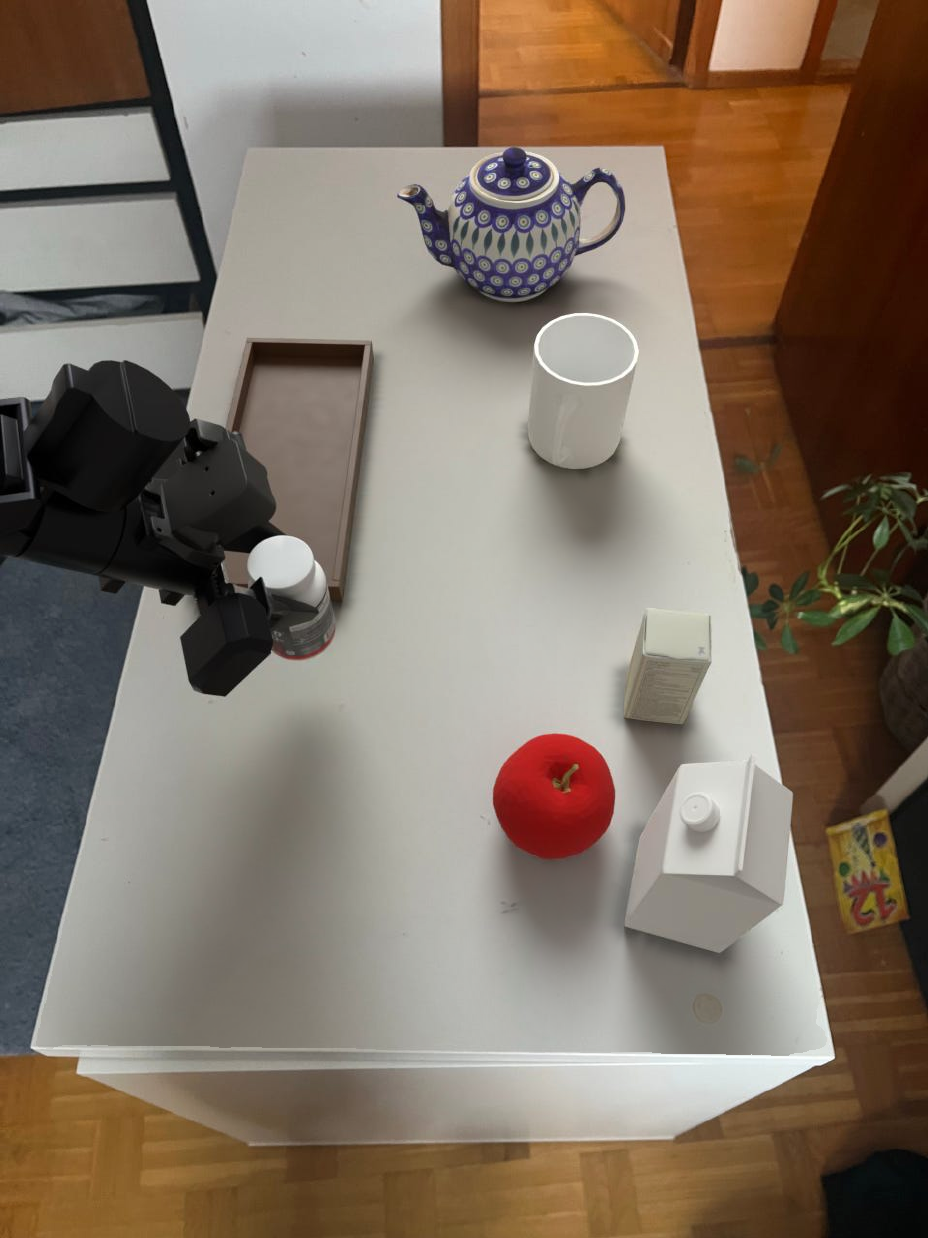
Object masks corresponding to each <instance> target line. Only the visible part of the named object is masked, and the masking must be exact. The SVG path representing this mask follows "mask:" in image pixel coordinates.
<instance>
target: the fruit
mask: <svg viewBox="0 0 928 1238" xmlns="http://www.w3.org/2000/svg"><path fill="white" fill-rule="evenodd" d="M609 767H610V766H609V765H608V762H607V760H606V759H605V758H604V756H603V755H602V754H601V752H599V750H598V749H596V747H595V746H593V745H591V744H590V743H588V742H587V741H585V740H583V739H581V738H579V737H577V736H575V735H571V734H566V733H555V732H554V733H546V734H541V735H537V736H535V737H532V738H531V739H529V740H528V741H527V742H525V743H524V744H522V745H521V746H520V747H518V748H517V749H516V750H515V751H514V752H513V753H512V754H511V755H510V756H509V757H508V758H507V759H506V760H505V762H504V763H503V764H502V766H501V767H500V769H499V772H498V774H497V776H496V778H495V781H494V786H493V789H492V806H493V809H494V813H495V816H496V818H497V821H498V824H499V825H500V828H501V829H502V831H503V832H504V834H505V835H506V837H507V838H508V840H509V841H510V842H511V843H512V844H513V845H514V846H515V847H516V848H518V849H519V850H522V851H523V852H524V853H527V854H528V855H531V856H535V857H537V858H541V859H543V860H544V859H545V860H560V859H566V858H570V857H573V856H577V855H581V854H582V853H584V852H586V851H587V850H589V849H590V848H592V847H593V845H595V844H596V843H597V842H598V841H600V839H601V838H602V837H603V836H604V835H605V833H606V832H607V831H608V829H609V827H610V825H611V823H612V819H613V816H614V813H615V812H614V810H615V803H616V788H615V783H614V779H613V776H612V773H611V770H610V768H609Z"/></svg>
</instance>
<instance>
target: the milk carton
mask: <svg viewBox="0 0 928 1238" xmlns="http://www.w3.org/2000/svg"><path fill="white" fill-rule="evenodd" d="M756 756H757V754H755V753H752V754H751V755H750V756H749V758H748V759H745V760H744V759H743V760H727V761H713V762H712V761H711V762H693V763H681V764H680V765H679V767H678V768H677V769H676V771H675V773H674V775H673V777H672V778H671V780H670V781H669V784H668V786H667V787H666V789H665V791H664V793H663V794H662V796H661V798H660V800H659V802H658V804H657V806H656V807H655V809H654V811H653V813H652V815H651V816H650V818H649V820H648V821H647V824H646V825H645V827H644V828H643V831H641V832H642V833H641V834H640V836H639V840H638V845H637V849H636V856H635V861H634V867H633V872H632V878H631V884H630V890H629V895H628V900H627V905H626V906H627V907H626V912H625V918H624V927H626V928H629V929H632V930H636V931H639V932H643V933H645V934H646V933H647V934H650V935H653V936H657V937H661V938H664V939H668V940H670V941H671V940H672V941H674V942H679V943H681V944H685V945H689V946H693V947H696V948H700V949H704V950H707V951H711V952H714V953H718V954H720V953H722V952H723V951H725V950H727V948H729V947H730V946H731V945H732V944H734V943H735V942H737V940H739V939H740V938H742V937H743V936H744V935H745V934H747V933H748V932H750V931H751V930H752V929H753V928H755V927H756V926H757V925H758V924H760V923H761V922H762V921H764V920H765V919H766V918H768V917H769V916H770V915H771V914H773V913H774V912H776V911H777V910H778V909H779V908H781V907H782V906H784V901H785V889H786V878H787V867H788V859H789V858H788V856H789V847H790V844H789V843H790V834H791V823H792V812H793V801H794V794H793V792H792V790H790V789H789V788H788V787H786V786H785V785H783V784H782V783H781V782H780V781H778V780H777V779H776V778H774V777H773V776H771V775H770V774H769V773H767V772H766V771H765V770H764V769H762V768H761V767H759V766H758V765H757V764H756Z"/></svg>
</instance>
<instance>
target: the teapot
mask: <svg viewBox="0 0 928 1238" xmlns="http://www.w3.org/2000/svg"><path fill="white" fill-rule="evenodd" d="M598 183H605V184H607V186H608V187H610V189H611V190H612V192H613V194H614V196H615V198H616V206H615V212H614V214H613V218H612V220H611V221H610V222H609V223H608V225H607V226H605V227H604V228H603V229H601V231H599V232H597V233H596V234H595V235H592V236H589V237H587V238H581V236H580V235H581V220H582V219H581V207H582V205H583V203H584V201H585V198H586V196H587V195H588V192H589V190H590V189H591V188H592V187H593V186H594V185H595V184H598ZM623 189H624V188H623V187H622V185H621V183H620V182H619V179H618V178H617V177H616V176H615V175H614V174H613V173H612V172H611V171H610V170H608V169H607V168H605V167H601V166H600V167H596V168H594V169H592V170H590V171H589V172H587V173H586V174H584V175H583V176H582V177H581V178H579V180H577V181H576V182H574V183H570V182H569V181H568V180H567V178H566V177H565V176H564V175H562V173H561V172H559V170H558V169H557V166H556V165H555V164H554V163H553V162H552V161H551V160H549V159H548V158H547V157H545V156H543V155H540V154H538V153H534V152H531V151H526V150H524V149H523V148H520V147H518V146H512V147H511V146H510V147H508V148H506V149H505V150H504V151H498V152H494V153H492V154H489V155H486V156H485V157H482V158H481V159H480V160H479V161H477V162H476V163H475V164H474V166H473V167H472V168H471V170H470V172H469V173H468V174H467V175H466V176H465V177H464V178H463V179H462V180H461V181H460V182H459V183H458V185H457V186H456V188H455V190H454V191H453V193H452V195H451V198H450V201H449V203H448V207H447V208H446V209H444V210H443V211H441V210H439V209H437V208H436V206H435V203H434V200H433V198H432V197H431V196H430V195H429V193H428V192H427V190H426V189H425V188H424V187H423V186H422V185H421V184H417V183H414V184H410V185H406V186H405V187H403V188H402V189H400V190H399V191H398V193H397V195H396V197H397V199H400V200H402V201H404V202H407V203H408V204H409V205H411V206H413V208H414V210H415V212H416V214H417V219H418V222H419V226H420V230H421V234H422V238H423V242H424V244H425V247H426V249H427V251H428V253H429V254H430V256H431V257H432V258H433V260H435V261H436V262H437V263H439V264H440V265H441V266H445V267H449V268H453V269H454V270H455V271H456V272H457V274H458V275H459V276H460V278H462V279H463V280H464V281H465V282H466V283H467V284H468V285H469V286H471V287H472V288H473V289H475V290H476V291H478V292H479V293H481V294H482V295H483V296H486V297H487V298H490V299H492V300H496V301H499V302H505V303H519V302H524V301H530V300H532V299H534V298H536V297H538V296H540V295H542V294H543V293H544V292H545V291H547V290H548V289H549V288H551V287H552V286H554V285H555V284H557V283H558V282H559V281H560V280H561V279H563V277H564V276H565V274H566V273H567V271H568V270H569V269H570V267H571V266H572V264H573V261H574V259H575V257H576V256H580V255H582V254H585V253H588V252H590V251H593V250H596V249H598V248H600V247H602V246H603V245H605V244H606V243H608V242H609V241H610V240H611V239H613V237H614V236H615V235H616V234H617V233H618V231H619V230H620V228H621V226H622V223H623V221H624V218H625V213H626V196H625V193H624V190H623Z"/></svg>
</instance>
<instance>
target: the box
mask: <svg viewBox="0 0 928 1238" xmlns="http://www.w3.org/2000/svg"><path fill="white" fill-rule="evenodd" d="M711 619H712V618H711V615H710V614H708V613H700V612H693V611H685V610H675V609H664V608H655V607H646V608H645V610H644V613H643V616H642V620H641V624H640V627H639V630H638V634H637V638H636V641H635V644H634V648H633V652H632V655H631V659H630V662H629V665H628V667H627V671H626V677H625V689H624V699H623V700H624V701H623V702H624V703H623V717H624V718H626V719H632V720H638V721H645V722H654V723H656V722H657V723H663V724H665V723H666V724H675V725H683V724H684V723H685V721H686V719H687V717H688V714H689V712H690V710H691V707H692V706H693V703H694V701H695V699H696V697H697V695H698V692H699V690H700V688H701V686H702V684H703V681H704V679H705V678H706V675H707V672H708V670H709V668H710V666H711V665H712V649H713V648H712V647H713V646H712V645H713V644H712V620H711Z"/></svg>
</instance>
